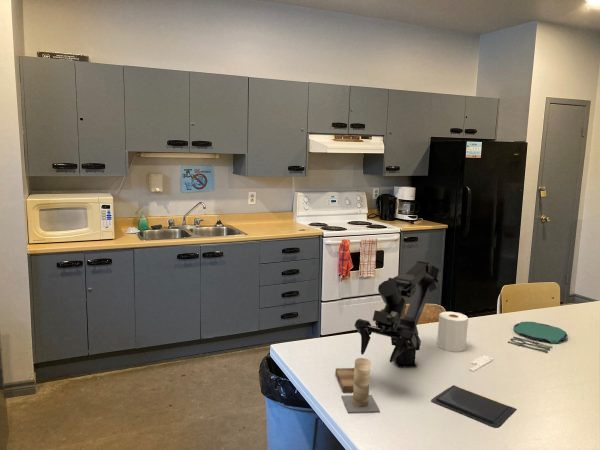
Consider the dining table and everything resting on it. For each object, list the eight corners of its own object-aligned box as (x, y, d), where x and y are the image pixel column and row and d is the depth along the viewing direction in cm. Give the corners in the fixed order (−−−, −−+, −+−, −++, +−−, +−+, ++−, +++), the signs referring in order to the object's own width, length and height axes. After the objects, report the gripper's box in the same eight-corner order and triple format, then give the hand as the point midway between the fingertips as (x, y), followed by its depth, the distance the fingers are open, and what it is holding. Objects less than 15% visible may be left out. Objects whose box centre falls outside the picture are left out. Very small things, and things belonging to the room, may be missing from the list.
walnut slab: (335, 374, 156) (335, 368, 156) (356, 373, 157) (356, 368, 157) (343, 392, 144) (343, 386, 144) (365, 392, 145) (366, 385, 145)
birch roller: (368, 400, 140) (371, 359, 138) (367, 407, 135) (370, 365, 134) (353, 398, 141) (355, 357, 139) (351, 405, 136) (354, 363, 134)
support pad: (371, 396, 143) (371, 394, 143) (379, 412, 134) (380, 410, 134) (341, 396, 142) (341, 395, 142) (348, 413, 133) (348, 411, 133)
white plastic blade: (459, 367, 165) (459, 364, 165) (480, 356, 176) (480, 353, 176) (473, 372, 162) (473, 369, 162) (494, 361, 172) (494, 358, 172)
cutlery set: (572, 335, 200) (573, 329, 200) (552, 357, 178) (552, 351, 178) (522, 323, 213) (522, 318, 213) (497, 342, 191) (497, 336, 191)
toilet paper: (462, 354, 176) (465, 322, 174) (433, 347, 181) (436, 316, 179) (467, 345, 185) (470, 314, 183) (440, 339, 190) (442, 309, 188)
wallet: (429, 396, 141) (454, 380, 152) (428, 402, 142) (453, 386, 152) (496, 425, 127) (519, 405, 138) (496, 432, 128) (518, 412, 138)
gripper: (358, 293, 151) (340, 338, 144) (416, 305, 141) (399, 354, 134) (368, 311, 159) (350, 354, 152) (423, 324, 149) (407, 370, 142)
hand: (375, 358), depth 144 cm, fingers open, 9 cm apart
